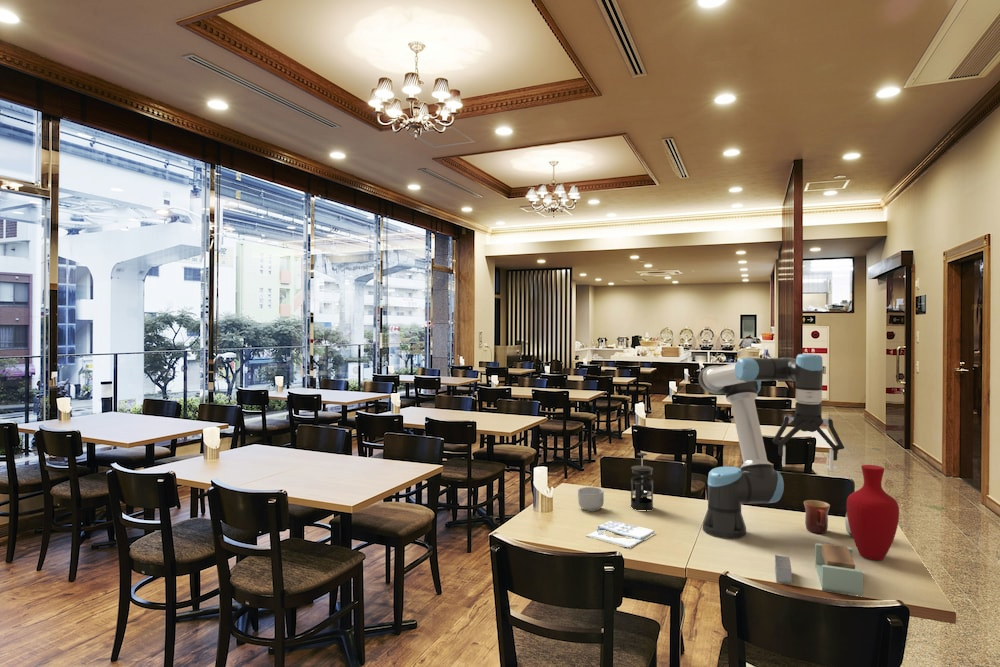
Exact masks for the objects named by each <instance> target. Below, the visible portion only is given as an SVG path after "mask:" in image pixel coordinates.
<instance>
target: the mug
mask: <svg viewBox="0 0 1000 667" xmlns="http://www.w3.org/2000/svg"><path fill="white" fill-rule="evenodd" d="M803 505H804V509H805V520H804V521H805V522H804V523H805V524H804V525H805V529H806V530H807V531H808V532H810V533H814V534H820V535H821V534H825V533H827V532H828V529H829V516H828V515H829V510H830V507H831V504H829V503H828V502H825V501H821V500H817V499H816V500H814V499H807V500H804V501H803Z"/></svg>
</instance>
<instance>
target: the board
mask: <svg viewBox="0 0 1000 667" xmlns="http://www.w3.org/2000/svg"><path fill="white" fill-rule="evenodd" d="M821 544H822V550H821V553H822V556H823V559H824V562H825V565H828V566H835V567H842V568H849V569H856V564H855V561H854V558H853V556H852V557H851V554H850V552H849V550H848V548H847V547H848V546H844V545H836V544H828V543H821Z"/></svg>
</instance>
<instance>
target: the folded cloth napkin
mask: <svg viewBox="0 0 1000 667" xmlns="http://www.w3.org/2000/svg"><path fill="white" fill-rule="evenodd" d="M601 530H606V531H609V532H612V533H616V534H615V535H618V534H620V535H619V536H622V535H623V536H622V537H624V536H628V537H632V538H635V539H626V538H613V537H609V536H606V534H607V533H605V532H606V531H605V532H604V533H603V532H602V531H601ZM600 532H602V533H600ZM655 533H656V532H655V530H654V529H650V528H647V527H643V526H638V525H633V524H628V523H623V522H619V521H615V520H609V521H607V522H605V523H602V524H600V525H597V529H596V530H595V531H593V532H591V533H588V534H586V535H585V537H586V536H587V537H586V538H590V537H592V538H591V539H593V538H597V539H601V540H605V541H609V542H612V543H615V544H619V545H622V546H625V547H628V548H627V549H629V548H630V547H632V546H633V547H635V546H636V545H635V544H637V543H639V542H641V541H642V542H644V541H646V540H647V539H646V538H648V537H649V536H650V535H651V534H655ZM597 539H596V540H597ZM645 539H646V540H645ZM648 539H649V538H648ZM601 540H600V541H601ZM643 540H644V541H643ZM642 542H641V543H642ZM615 544H614V545H615ZM639 544H640V543H639ZM634 545H635V546H634ZM637 545H638V544H637ZM633 547H632V548H633ZM630 549H631V548H630Z"/></svg>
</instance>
